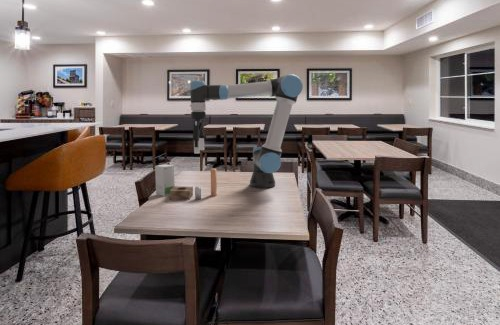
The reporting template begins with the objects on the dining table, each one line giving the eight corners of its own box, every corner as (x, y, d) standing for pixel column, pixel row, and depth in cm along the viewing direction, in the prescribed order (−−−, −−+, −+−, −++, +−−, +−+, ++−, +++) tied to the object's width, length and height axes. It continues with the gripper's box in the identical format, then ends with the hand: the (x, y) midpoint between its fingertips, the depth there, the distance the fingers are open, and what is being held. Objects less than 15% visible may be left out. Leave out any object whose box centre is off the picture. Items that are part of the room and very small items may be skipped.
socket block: (193, 194, 194) (192, 186, 193) (189, 199, 184) (189, 191, 184) (174, 194, 194) (174, 186, 194) (169, 199, 185) (169, 190, 184)
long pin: (216, 194, 195) (216, 168, 193) (216, 195, 192) (216, 169, 190) (211, 194, 195) (211, 168, 193) (210, 195, 192) (210, 169, 190)
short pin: (201, 198, 188) (201, 186, 187) (200, 199, 185) (200, 188, 184) (195, 198, 188) (195, 186, 187) (194, 199, 185) (194, 188, 184)
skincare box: (164, 196, 190) (163, 167, 188) (155, 194, 194) (154, 165, 191) (175, 193, 197) (174, 164, 195) (166, 191, 201) (165, 163, 198)
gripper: (195, 110, 204) (197, 148, 207) (185, 111, 179) (187, 154, 183) (209, 110, 203) (210, 148, 207) (201, 111, 179) (202, 155, 182)
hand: (199, 151), depth 195 cm, fingers open, 13 cm apart
